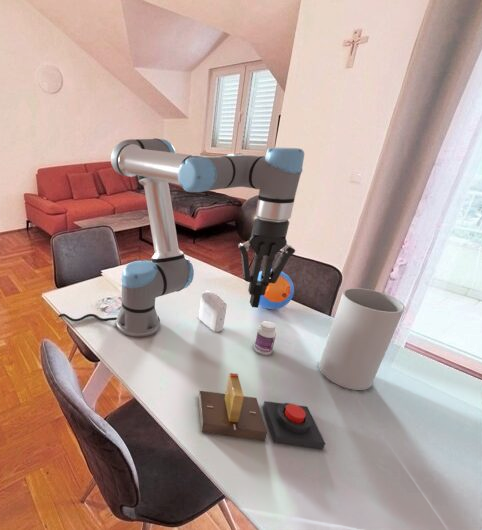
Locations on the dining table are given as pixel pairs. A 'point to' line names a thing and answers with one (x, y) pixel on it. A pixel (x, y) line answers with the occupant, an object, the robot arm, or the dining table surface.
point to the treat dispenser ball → (277, 292)
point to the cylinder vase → (359, 337)
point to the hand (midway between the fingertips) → (253, 304)
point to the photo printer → (212, 310)
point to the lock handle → (233, 397)
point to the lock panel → (218, 421)
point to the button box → (292, 427)
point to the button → (295, 413)
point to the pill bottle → (265, 338)
